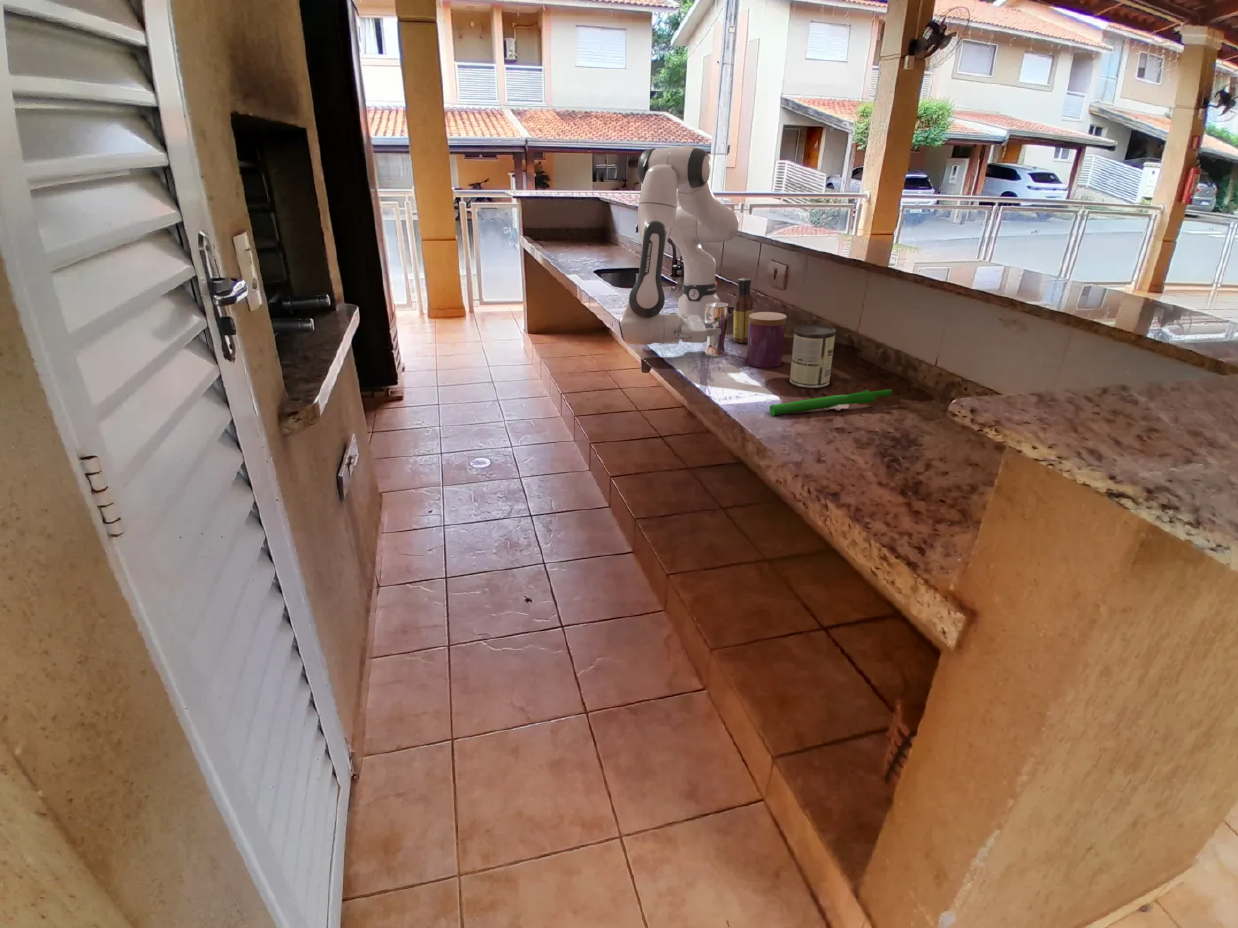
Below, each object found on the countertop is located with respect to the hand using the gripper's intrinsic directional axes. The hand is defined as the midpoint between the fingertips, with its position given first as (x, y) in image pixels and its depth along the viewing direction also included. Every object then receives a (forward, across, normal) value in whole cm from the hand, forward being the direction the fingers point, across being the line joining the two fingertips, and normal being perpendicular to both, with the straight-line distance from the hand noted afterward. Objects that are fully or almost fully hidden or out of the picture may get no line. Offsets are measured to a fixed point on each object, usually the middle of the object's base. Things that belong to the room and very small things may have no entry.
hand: (718, 327), depth 185 cm
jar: (+12, -10, +8) cm, 18 cm away
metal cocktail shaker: (-1, 0, +8) cm, 8 cm away
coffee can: (+20, -29, +8) cm, 36 cm away
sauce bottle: (+10, +14, +8) cm, 19 cm away
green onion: (+20, -48, +8) cm, 53 cm away
